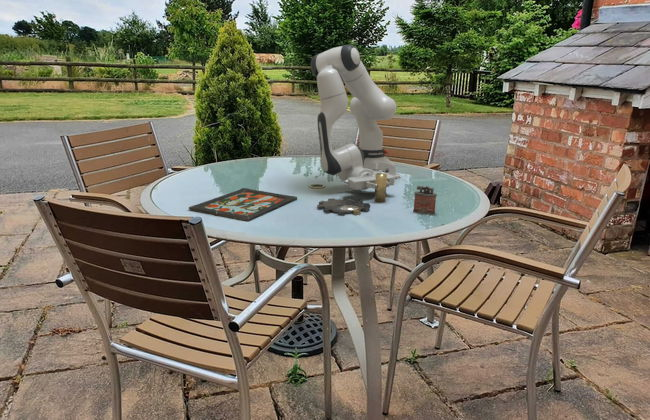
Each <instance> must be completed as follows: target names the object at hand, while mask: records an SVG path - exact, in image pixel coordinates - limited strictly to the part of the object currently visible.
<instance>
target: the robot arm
mask: <svg viewBox="0 0 650 420" xmlns="http://www.w3.org/2000/svg"><path fill="white" fill-rule="evenodd" d="M310 70H311V73H312V74H313V76H314V77H315V79H316V83H317V90H318V91H317V92H318V96H319V100H320V112H319V113H318V115H317V132H318V141H319V142H318V143H319V149H320V167H321V168H322V171H323V172H324V173H326V174H328V175H330V176H335V175H337V176H338V177H339V179H340V180H341V181H342V182H343V183H344V184H346V185H347V187H348V188H349V189H352V190H355V191H357V190H362V191H365V190H368V189H374V190H375V188H377V186H378V185H377V184H376V183H375V180H376V174H377V173H384V174H387V184H386V188H390V186H394V185H395V179H399V178H401V175H400V173H397V169H396V165H395V163H394V162H393V161H392V160H390V159H389V158H388V157H387V156H386V155H389V153H390V150H389V149H384V148H383V143H384V132H383V130H382V129H381V128H380V127H379V125H378V122H377V121H387V120H391V119H393V118H394V116H395V115H396V114H397V113H396V112H397V104H396V103H397V102H396V101H395V100H394V99H393V98H391V97H390V96H388V95H387V94H385V93H384V91H382V89H380V88H379V86H378V85H377V84H376V83H375V82H374V81H373V79H372V77H371V75H370V74H369V73H368V70H367V68H366V67H365V65H364V63H363V62H362V60H361V54H360V51H359V49H358V48H357V47H356V46H355V45H353V44H344V45H341V46H336V47H332V48H330V49H327V50H325V51H323V52H320V53H316V54H315V55H314V56H312V57H311V61H310ZM344 84H345V85H344ZM345 86H346V87H345ZM346 88H347V89H348V91H349V93H350V94H351V96H353V97H352V98H351V100H350V102H349V99H348V95H347V91H346ZM348 107H349V110H350V113H351V114H352V115H353V117H354V118H355V121H356V123H357V127H358V132H359V140H358V141H359V142H358V143H359V145H357V144H356V143H354V142H351V143H348V144H345V145H342V146H341V147H337V148H335V149H333V142H332V132H331V130H332V127H333V125H334V124H335V123H336V122H337V121H338V120H339V119H341V117H343V116H344V114H345V113H346V112H347V110H348Z"/></svg>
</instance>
